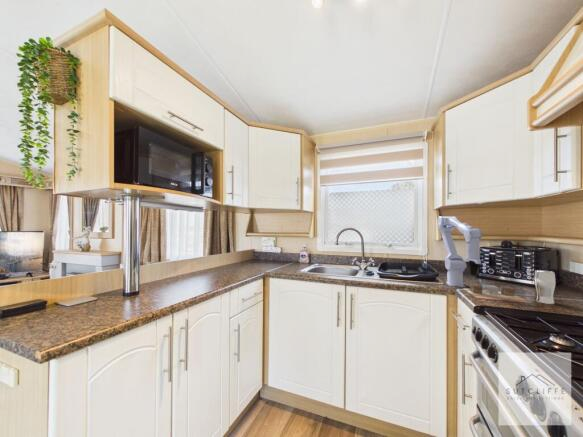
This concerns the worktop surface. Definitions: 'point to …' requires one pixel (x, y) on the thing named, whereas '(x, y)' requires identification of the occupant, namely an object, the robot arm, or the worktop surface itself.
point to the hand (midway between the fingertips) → (473, 275)
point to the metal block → (491, 289)
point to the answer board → (496, 296)
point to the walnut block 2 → (507, 291)
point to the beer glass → (545, 286)
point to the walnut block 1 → (476, 288)
